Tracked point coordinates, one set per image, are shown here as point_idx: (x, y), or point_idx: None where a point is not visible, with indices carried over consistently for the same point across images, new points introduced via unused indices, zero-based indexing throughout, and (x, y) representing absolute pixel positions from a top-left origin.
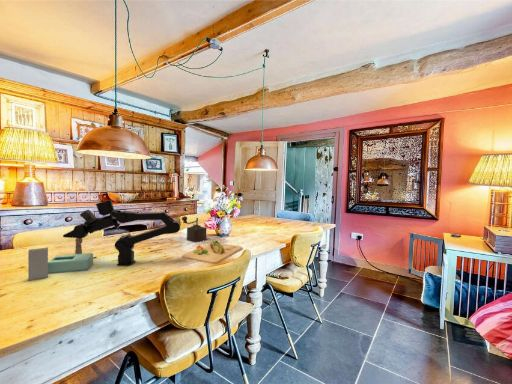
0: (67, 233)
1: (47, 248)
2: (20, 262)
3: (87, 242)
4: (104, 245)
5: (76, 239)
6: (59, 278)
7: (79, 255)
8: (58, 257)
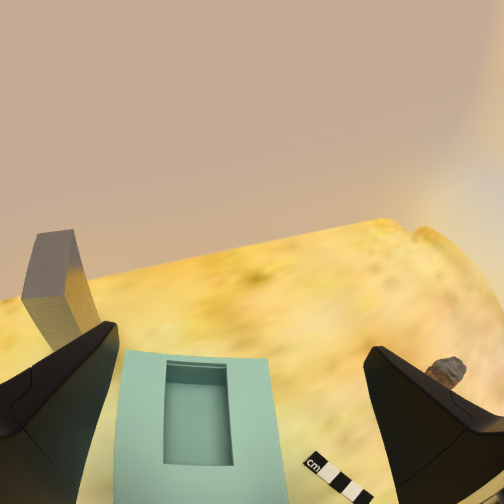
0: (60, 356)
1: (37, 296)
2: (308, 261)
3: (499, 349)
4: None
5: (438, 365)
6: None
7: (242, 484)
8: (226, 378)
